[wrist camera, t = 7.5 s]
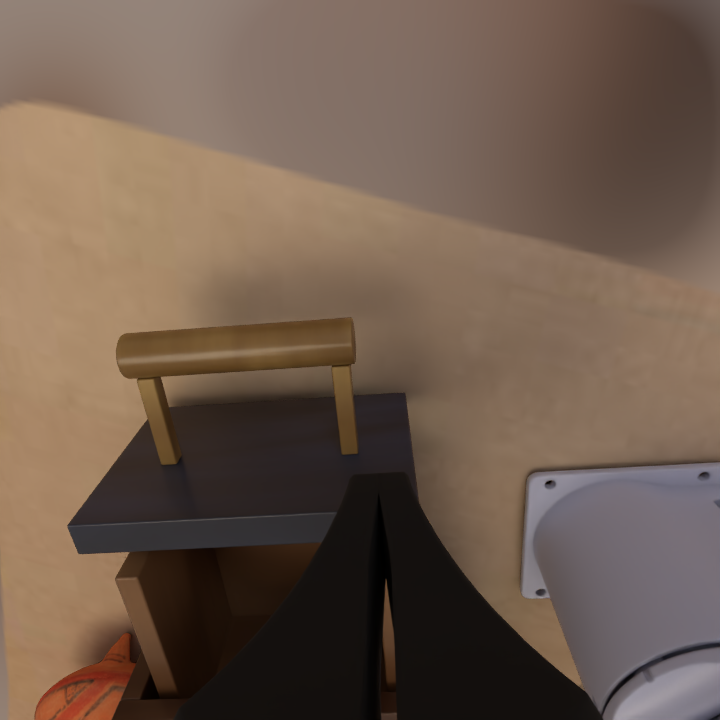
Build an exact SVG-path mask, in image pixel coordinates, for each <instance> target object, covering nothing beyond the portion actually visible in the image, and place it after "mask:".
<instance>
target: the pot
mask: <svg viewBox="0 0 720 720" xmlns="http://www.w3.org/2000/svg"><path fill="white" fill-rule="evenodd" d="M130 638H131V635H130V634H129V633H125V634H123V635H122V636H121V638H120V639H119V640H118V641H117V642H116V643H115V644H114V645H113V646H112V648H111V649H110V650H109V652H108V653H107V654H106V656H105V657H104V659H103V660H102V661H101V662H100V663H98V664H94V665H90V666H88V667H85V668H82V669H80V670H78V671H76V672H74V673H72V674H70V675H68V676H67V677H65V678H63V679H62V680H60V681H59V682H58V683H56V684H55V685H54V686H53V687H51V688H50V689H49V690H48V691H47V692H46V693H45V694H44V695H43V697H42V698H41V699H40V701H39V703H38V705H37V707H36V711H35V720H112V717H113V715H114V713H115V710H116V708H117V706H118V704H119V701H121V697H122V695H123V692H124V690H125V688H126V685H127V683H128V681H129V679H130V676H131V674H132V672H133V669H134V667H135V665H136V663H132V662H131V661H130Z"/></svg>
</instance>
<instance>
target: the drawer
mask: <svg viewBox="0 0 720 720" xmlns="http://www.w3.org/2000/svg"><path fill="white" fill-rule="evenodd" d="M116 358H117V364H118V367H119V370H120V372H121V373H122V375H123V376H124V377H126V378H128V379H134V378H138V379H137V383H138V387H139V390H140V394H141V397H142V400H143V404H144V407H145V411H146V414H147V418H148V419H147V421H146V422H145V423H144V425H143V426H142V427H141V429H140V430H139V431H138V433H137V434H136V435H135V436H134V438H133V439H132V440H131V442H130V443H129V444H128V446H127V447H126V448H125V450H124V451H123V452H122V454H121V455H120V456H119V458H118V459H117V460H116V462H115V463H114V464H113V466H112V467H111V468H110V470H109V471H108V472H107V474H106V475H105V476H104V478H103V479H102V480H101V482H100V483H99V484H98V486H97V487H96V488H95V490H94V491H93V492H92V494H91V495H90V496H89V498H88V499H87V500H86V502H85V503H84V504H83V505H82V507H81V508H80V509H79V511H78V512H77V513H76V515H75V516H74V517H73V519H72V520H71V521H70V523H69V524H68V529H69V532H70V534H71V537H72V539H73V542H74V544H75V547H76V549H77V551H78V554H94V553H115V552H130V553H129V555H128V556H127V558H126V560H125V562H124V563H123V565H122V567H121V569H120V571H119V572H118V574H117V576H116V578H115V581H116V583H117V586H118V588H119V591H120V594H121V596H122V599H123V602H124V604H125V607H126V609H127V612H128V615H129V617H130V620H131V623H132V625H133V628H134V630H135V633H136V636H137V638H138V641H139V644H140V646H141V649H142V651H143V654H144V657H145V659H146V662H147V665H148V667H149V670H150V672H151V675H152V678H153V680H154V683H155V686H156V688H157V691H158V693H159V696H160V699H182V698H191V697H192V696H193V695H194V694H195V693H197V692H198V691H199V690H200V689H201V688H202V687H203V686H204V685H205V684H206V683H208V682H209V681H210V680H211V679H212V678H213V677H214V676H215V675H216V674H218V673H219V672H220V671H221V670H222V669H223V668H224V667H225V666H226V665H227V664H228V663H229V662H230V661H231V660H232V659H233V658H234V657H235V656H236V655H237V653H238V652H239V651H240V650H241V649H242V648H243V647H244V646H245V645H246V644H247V643H248V642H249V641H250V640H251V639H252V638H253V637H254V636H255V634H256V633H257V632H258V631H259V630H260V629H261V628H262V627H263V625H264V624H265V623H266V622H267V621H268V620H269V618H270V617H271V616H272V615H273V613H274V612H275V611H276V609H277V608H278V607H279V606H280V604H281V603H282V602H283V601H284V599H285V598H286V597H287V595H288V594H289V593H290V591H291V590H292V589H293V587H294V586H295V584H296V583H297V581H298V580H299V579H300V577H301V576H302V574H303V573H304V571H305V569H306V568H307V566H308V565H309V563H310V562H311V560H312V558H313V556H314V555H315V553H316V551H317V550H318V548H319V546H320V544H321V543H322V541H323V539H324V537H325V536H326V534H327V532H328V530H329V528H330V526H331V524H332V522H333V520H334V518H335V516H336V514H337V511H338V509H339V507H340V504H341V502H342V500H343V497H344V495H345V492H346V489H347V486H348V483H349V479H350V478H351V477H352V476H353V475H354V474H371V473H388V472H405V473H406V474H407V475H409V479H410V483H411V486H412V488H413V491H414V493H415V495H416V498H417V500H418V502H419V498H418V490H417V482H416V474H415V466H414V458H413V450H412V442H411V434H410V426H409V418H408V410H407V402H406V394H405V393H404V392H403V393H387V394H372V395H356V396H354V392H353V382H352V372H351V364H355V362H356V344H355V331H354V323H353V319H352V318H351V317H350V318H336V319H322V320H308V321H294V322H280V323H266V324H252V325H237V326H223V327H209V328H195V329H181V330H167V331H153V332H139V333H126V334H123V335H122V336H121V337H120V338H119V340H118V343H117V348H116ZM331 365H332V368H331V369H332V377H333V386H334V395H335V397H324V398H308V399H292V400H276V401H260V402H244V403H229V404H213V405H197V406H181V407H169V406H168V402H167V399H166V395H165V391H164V388H163V384H162V380H161V377H164V376H180V375H195V374H210V373H225V372H240V371H255V370H270V369H285V368H300V367H316V366H331ZM381 692H396V675H395V646H394V632H393V625H392V618H391V611H390V604H389V596H388V589H387V582H386V584H385V603H384V621H383V639H382V657H381Z"/></svg>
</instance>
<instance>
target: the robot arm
mask: <svg viewBox="0 0 720 720" xmlns="http://www.w3.org/2000/svg"><path fill="white" fill-rule="evenodd" d="M703 472H704V474H702V475H700V476H699V474H701V473H703ZM549 480H553V481H552V482H551V483H549V484H545V483H546V482H547V481H549ZM386 582H387V589H388V596H389V604H390V611H391V618H392V625H393V632H394V646H395V675H396V706H397V720H720V462H714V463H696V464H677V465H659V466H640V467H622V468H603V469H585V470H567V471H548V472H536V473H533V474H531V475H530V476H529V477H528V478H527V482H526V497H525V513H524V529H523V545H522V561H521V577H520V591H521V594H522V596H523V597H525V598H528V599H537V598H550V599H551V601H552V604H553V607H554V609H555V612H556V615H557V617H558V620H559V623H560V625H561V628H562V631H563V633H564V636H565V639H566V641H567V644H568V647H569V649H570V652H571V655H572V657H573V660H574V663H575V665H576V668H577V671H578V673H579V676H580V679H581V681H582V684H583V687H584V689H585V691H584V690H582V689H581V688H580V687H579V686H577V685H576V684H575V683H574V682H572V681H571V680H570V679H569V678H567V677H566V676H565V675H564V674H562V673H561V672H560V671H559V670H558V669H556V668H555V667H554V666H553V665H552V664H550V663H549V662H548V661H547V660H546V659H545V658H544V657H542V656H541V655H540V654H539V653H538V652H537V651H536V650H535V649H534V648H533V647H531V646H530V645H529V644H528V643H527V642H526V641H525V640H524V639H523V638H522V637H521V636H520V635H519V634H518V633H517V632H516V631H515V630H514V629H513V628H512V627H511V626H510V625H509V624H508V623H507V622H506V621H505V620H504V619H503V618H502V617H501V616H500V615H499V614H498V613H497V612H496V611H495V610H494V609H493V608H492V607H491V606H490V605H489V603H488V602H487V601H486V600H485V599H484V598H483V597H482V595H481V594H480V593H479V592H478V591H477V590H476V588H475V587H474V586H473V585H472V583H471V582H470V581H469V580H468V579H467V577H466V576H465V575H464V573H463V572H462V571H461V570H460V568H459V567H458V565H457V564H456V563H455V561H454V560H453V559H452V557H451V556H450V554H449V553H448V551H447V550H446V548H445V547H444V545H443V544H442V542H441V541H440V539H439V538H438V536H437V535H436V533H435V531H434V529H433V528H432V526H431V524H430V523H429V521H428V519H427V517H426V516H425V514H424V512H423V510H422V508H421V506H420V504H419V502H418V500H417V498H416V495H415V493H414V491H413V488H412V486H411V483H410V479H409V475H407V474H406V473H405V472H388V473H371V474H354V475H353V476H352V477H351V478H350V479H349V483H348V486H347V489H346V492H345V495H344V497H343V500H342V502H341V504H340V507H339V509H338V511H337V514H336V516H335V518H334V520H333V522H332V524H331V526H330V528H329V530H328V532H327V534H326V536H325V537H324V539H323V541H322V543H321V544H320V546H319V548H318V550H317V551H316V553H315V555H314V556H313V558H312V560H311V562H310V563H309V565H308V566H307V568H306V569H305V571H304V573H303V574H302V576H301V577H300V579H299V580H298V581H297V583H296V584H295V586H294V587H293V589H292V590H291V591H290V593H289V594H288V595H287V597H286V598H285V599H284V601H283V602H282V603H281V604H280V606H279V607H278V608H277V609H276V611H275V612H274V613H273V615H272V616H271V617H270V618H269V620H268V621H267V622H266V623H265V624H264V625H263V627H262V628H261V629H260V630H259V631H258V632H257V633H256V634H255V636H254V637H253V638H252V639H251V640H250V641H249V642H248V643H247V644H246V645H245V646H244V647H243V648H242V649H241V650H240V651H239V652H238V653H237V655H236V656H235V657H234V658H233V659H232V660H231V661H230V662H229V663H228V664H227V665H226V666H225V667H224V668H223V669H222V670H221V671H220V672H219V673H218V674H216V675H215V676H214V677H213V678H212V679H211V680H210V681H209V682H208V683H206V684H205V685H204V686H203V687H202V688H201V689H200V690H199V691H198V692H197V693H195V694H194V695H193V696H192V697H191V698H190V699H189V700H188V701H187V702H185V703H184V704H183V705H182V706H181V707H179V709H178V711H177V713H176V715H175V717H174V719H173V720H381V657H382V639H383V621H384V603H385V584H386ZM538 589H539V590H538Z"/></svg>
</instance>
